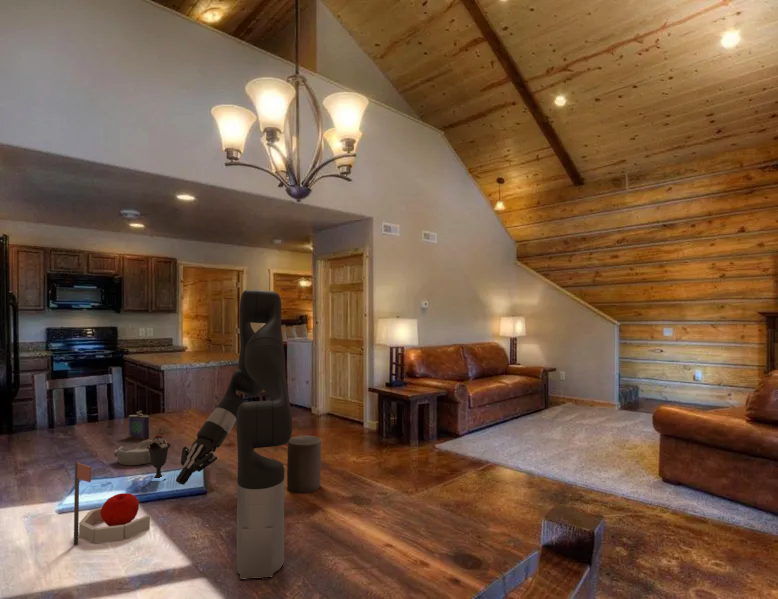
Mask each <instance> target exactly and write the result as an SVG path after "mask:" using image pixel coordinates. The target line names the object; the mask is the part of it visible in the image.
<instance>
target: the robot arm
mask: <svg viewBox="0 0 778 599" xmlns="http://www.w3.org/2000/svg"><path fill="white" fill-rule="evenodd" d="M239 300H240V301H239V310H238V311H239V312H238V313H239V314H238V316H239V318H238V320H239V321H238V324H239V344H240V345H239V356H238V369H236V370H234V372H233V373H232V375H231V377H230V381H229V384H228V386H227V389H226V392H225V393H224V396H223V398H222V399H221V400H220V402H219V403H218V405H217V406H216V407H215V409H214V410H213V411H212V412H211V413H210V415H209V416H208V417H207V419H206V421H205V422H204V424H202V426H201V427H200V429H199V430H198V431H197V434H196V437H197V438H196V440H195V441H194V442H192V444H191V445H190V446H183V447H182V450H181V457H180V465H181V466H182V469H181V471H180V472H179V474H178V475H177V476H176V479H175V481H176V483H177V484H179V485H183V486H184V485H186V483H187V482H188V480H190V478H191V476H192V475H193V473H194V474H195V473H196V472H198V473H199V472H202V471H203V470H204V469H205V468H207V467H208V466H209V465H211V464H214V462H215V461H217V459H218V457H217V456H216V455H215V452H216V451H217V449H218V448H220V447H221V446H222V444H223V443H224V441H225V440H226V438H227V437H228V436H229V434H230V432H231V430H232V429H233V427H234V426H235V424H236V440H237V442H236V443H237V478H236V480H237V482H236V485H237V487H236V488H237V491H236V492H237V494H236V496H237V498H236V501H237V502H236V504H237V505H236V571H237V574H238V573H239V574H240V575H239V574H238V575H239V579H242V578H253V577H254V578H255V577H256V578H257V577H258V578H259V577H270V576H273V577H274V575H275V574H276V573H277V572H276V571H277V570H279V569H280V568H281V567H282V565H283V566H284V564H285V466H284V464H283V463H282V462H281V461H280V460H277V459H273V458H269V457H266V456H263V455H261V454H259V453H258V452H256V451H255V449H261V448H272V447H273V448H274V447H280V446H284V445H286V444H287V445H288V442H289V440H290V438H292V434H293V416H292V415H293V414H292V410H291V405H290V404H291V403H290V398H289V393H288V386H287V377H286V357H285V348H284V340H283V333H282V332H283V331H282V300H281V296H280V294H279V293H278V292H276V291H273V290H262V289H261V290H260V289H244V290H243V291H242V293H241V296H240V299H239ZM251 323H252V324H253V323H254V324H264V325H263V326H262V327H260V328H259V329H257V331H256V332H255V331H254V329H253V327H252V324H251ZM238 391H239V392H241V393H243V394H245V395H247V396H249V397H258V396H259V395H261V394H262V392H263V391H264V392H265V393H266V394H267V396H268V397H269V399H270V400H258V401H257V400H255V401H246V402H245V400H244V399H243V398H242V397H241V396H239V395H238V394H237V392H238ZM283 563H284V564H283ZM282 568H283V567H282ZM282 568H281V569H282ZM281 569H280V570H281ZM280 570H279V571H280ZM275 572H276V573H275ZM274 573H275V574H274ZM273 574H274V575H273Z"/></svg>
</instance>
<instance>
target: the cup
mask: <svg viewBox="0 0 778 599" xmlns="http://www.w3.org/2000/svg"><path fill="white" fill-rule="evenodd" d="M91 474H92V467H91V466H89V465H86V464H83V463H80V461H76V462H74V497H73V498H74V500H73V501H74V503H73V505H74V507H73V508H74V510H73V518H74V519H73V546H77V545H79V538H80V539H83V540H85V541H87V542H89V543H91V544H95V545H96V544H103V543H112V542H118V541H119V542H120V541H124V540H128V539H130V538H132V537H134V536H136V535H139V534H141V533H143V532H145V531H148V530H150V528H151V515H149V514H147V515H144V516H142V517H140V518H136V519H133V520H132V521H131V522H129V523H127V524H125V525H117V526H101V527H96V526H94V525H95V524H97V523H100V522H104V521H103V520H102V518H101V514H100V512H101V509H102V507H103V506H101V507H98V508H95V509H92V510H90V511H89V512H87V513H86V514H85V516H84V517H83V518H82V519H81V520H80V521H79V514H80V513H79V512H80V510H79V508H80V507H79V506H80V503H79V502H80V501H79V500H80V480H82V481H84V482H87V483H92V475H91Z"/></svg>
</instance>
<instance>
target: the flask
mask: <svg viewBox="0 0 778 599" xmlns="http://www.w3.org/2000/svg"><path fill="white" fill-rule="evenodd" d="M142 412H143V411H142V410H139V411H136V414H130V415H128V426H127V427H128V430H127V433H128V434H127V435H128V436H127V437H128V438H129V439H135V440H136V439H138V440H150V416H149V415H147V414H143V413H142Z"/></svg>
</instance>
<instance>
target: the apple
mask: <svg viewBox="0 0 778 599" xmlns="http://www.w3.org/2000/svg"><path fill="white" fill-rule="evenodd" d="M101 507H102V509H101V512H100V514H101V518H102V520H103V521H102V522H104V523H105V525H106V526H107V527H109V526H117V525H125V524H127V523H129V522H132V521H134V520H135V518H136V517H137V514H138V511H139V509H140V508H139V507H140V501H139V500H138V498H137V497H136V496H135V495H134V494H133V493H129V492H126V493H118V494H115V495H113V496H111V497H109V498H107V500H105V501H104V503H103V505H102V506H101Z"/></svg>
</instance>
